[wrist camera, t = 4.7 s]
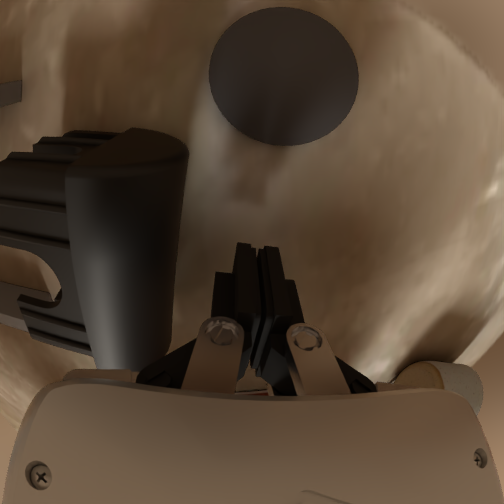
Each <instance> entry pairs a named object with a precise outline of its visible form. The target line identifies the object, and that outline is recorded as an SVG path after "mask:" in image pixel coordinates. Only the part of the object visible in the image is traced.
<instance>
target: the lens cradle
mask: <svg viewBox="0 0 504 504" xmlns="http://www.w3.org/2000/svg"><path fill="white" fill-rule="evenodd" d="M21 87H22V80H20V81H14V82H9V83H4V84H0V107H3V106H6V105H9V104H13V103H16V102H20V101H21ZM20 294H23V295H27V296H30V297H34V298H37V299H41V300H44V301H49V302H52V299H51V296H50V293H47V292H42V291H38V290H33V289H29V288H25V287H21V286H16V285H12V284H8V283H4V282H0V323H1V324H4V325H7V326H10V327H13V328H17V329H20V330H23V331H26V332H29V331H28V329H27V326H26V324H25V321H24V319H23V316H22V314H21V311H20V308H19V306H18V303H17V299H18V297H19V296H20Z"/></svg>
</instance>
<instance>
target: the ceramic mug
mask: <svg viewBox="0 0 504 504" xmlns="http://www.w3.org/2000/svg"><path fill="white" fill-rule="evenodd" d="M393 384H399V385H408V386H416V387H419V388H436V389H444V390H448V391H452V392H455V393H457V394H459V395H461V396H463V397H464V398H465V399H466V400H467V401H468V402H469V404H470V405H471V407H472V408H473V410H474V412H475V414H476V416H477V415H478V413H479V411H480V408H481V405H482V400H483V385H482V382H481V380H480V377H479V375H478V374H477V372H476V371H475V370H473V368H471V367H469V366H467V365H464V364H454V363H445V362H437V361H421V362H416V363H414V364H412V365H410V366H408V367H407V368H405V369H404V370H403V371H402V372H401V373H400V374H399V376H398V377H397V379H396V380H395V382H394V383H393Z"/></svg>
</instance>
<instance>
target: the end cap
mask: <svg viewBox="0 0 504 504" xmlns="http://www.w3.org/2000/svg"><path fill="white" fill-rule="evenodd" d="M188 159H189V150H188V148H187V146H186V145H185V144H184V143H183V142H182V141H180V140H179V139H177V138H175V137H173V136H170V135H168V134H165V133H161V132H157V131H153V130H147V129H140V128H130V129H128V130H126V131H125V132H123V133H113V132H99V131H81V130H74V131H70V132H68V133H65V134H64V135H63V136H62V137H42V138H41V139H40V140H39V142H38V143H35V144H33V153H32V152H11V153H10V154H9V155H8V157H7V158H6V159H5V160H3V161H1V162H0V245H4V246H9V247H13V248H17V249H22V250H26V251H29V252H32V253H33V254H35V255H37V256H38V257H40V258H41V259H43V260H44V261H45V262H46V263H47V264H48V265H49V266H50V268H51V269H52V270H53V271H54V273H55V274H56V276H57V278H58V280H59V282H60V285H61V289H60V291H59V293H58V294H57V296H56V297H55V299H54V300H55V302H49V301H44V300H41V299H37V298H34V297H30V296H27V295H23V294H20V296H19V297H18V299H17V303H18V306H19V308H20V311H21V314H22V316H23V319H24V321H25V324H26V326H27V329H28V331H29V333H30V336H31V337H32V338H33V339H35V340H38V341H41V342H44V343H47V344H50V345H53V346H57V347H60V348H63V349H67V350H70V351H74V352H77V353H81V354H85V355H88V356H92V357H94V361H95V364H96V367H97V369H130V370H131V372H140V371H141V370H142V369H143V368H145V367H146V366H148V365H150V364H152V363H153V362H155V361H157V360H159V359H161V358H162V357H164V356H165V355H166V353H167V351H168V349H169V346H170V343H171V334H172V314H173V298H174V284H175V271H176V259H177V248H178V238H179V229H180V220H181V211H182V203H183V195H184V187H185V180H186V173H187V166H188Z"/></svg>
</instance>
